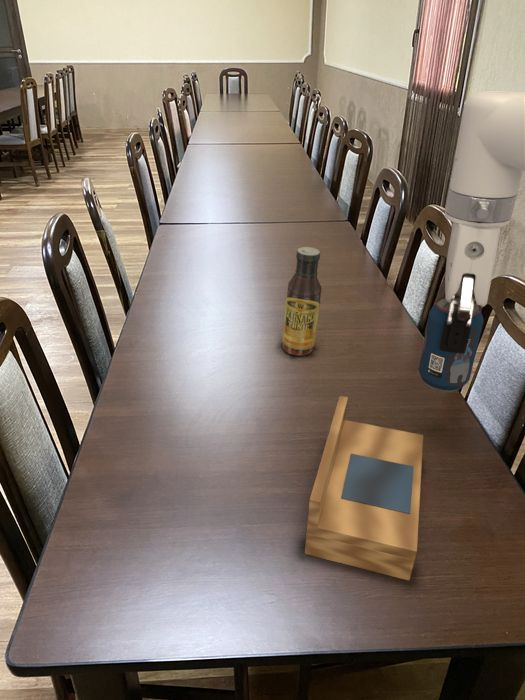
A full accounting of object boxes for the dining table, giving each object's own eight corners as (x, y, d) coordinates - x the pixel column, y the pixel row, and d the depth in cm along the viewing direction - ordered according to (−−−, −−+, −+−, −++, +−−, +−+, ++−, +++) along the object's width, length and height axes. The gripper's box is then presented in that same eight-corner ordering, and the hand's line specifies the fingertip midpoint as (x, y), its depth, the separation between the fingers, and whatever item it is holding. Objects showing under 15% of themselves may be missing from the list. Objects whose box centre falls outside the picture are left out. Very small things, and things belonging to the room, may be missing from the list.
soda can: (432, 362, 81) (446, 288, 75) (476, 380, 76) (495, 304, 70) (408, 380, 76) (421, 304, 70) (453, 400, 72) (471, 321, 66)
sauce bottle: (278, 355, 100) (283, 254, 90) (285, 339, 106) (290, 242, 95) (313, 360, 99) (322, 258, 89) (318, 343, 104) (327, 246, 94)
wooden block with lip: (417, 461, 76) (428, 411, 72) (409, 580, 60) (423, 525, 55) (333, 444, 79) (339, 395, 74) (304, 554, 63) (309, 499, 58)
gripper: (521, 231, 56) (484, 375, 65) (505, 191, 70) (477, 313, 79) (446, 224, 58) (420, 365, 67) (446, 187, 72) (424, 306, 81)
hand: (451, 336), depth 73 cm, fingers closed on soda can, 7 cm apart
